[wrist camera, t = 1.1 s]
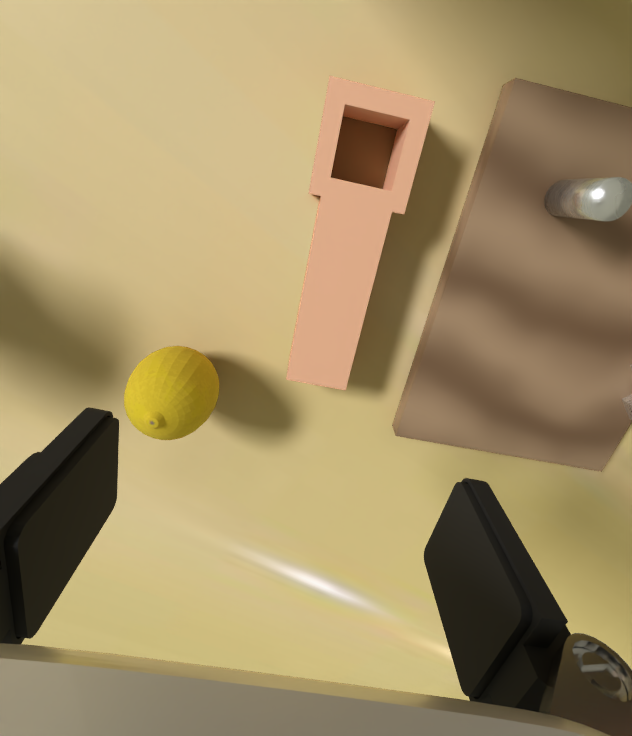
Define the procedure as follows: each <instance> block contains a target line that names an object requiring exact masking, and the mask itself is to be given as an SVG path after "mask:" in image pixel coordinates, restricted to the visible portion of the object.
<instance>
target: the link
mask: <svg viewBox="0 0 632 736" xmlns="http://www.w3.org/2000/svg"><path fill="white" fill-rule="evenodd" d="M434 103H435V101H431V100H427V99H423V98H419V97H415V96H410V95H406V94H402V93H398V92H394V91H390V90H386V89H382V88H378V87H374V86H370V85H366V84H362V83H358V82H354V81H350V80H345V79H341V78H337V77H333V76H330V77H329V82H328V88H327V94H326V99H325V105H324V110H323V116H322V122H321V127H320V133H319V138H318V144H317V149H316V155H315V161H314V166H313V172H312V177H311V183H310V189H309V194H314V195H318V196H320V201H319V206H318V211H317V216H316V222H315V227H314V232H313V237H312V243H311V248H310V253H309V258H308V264H307V269H306V274H305V279H304V285H303V290H302V295H301V300H300V306H299V311H298V316H297V321H296V327H295V332H294V337H293V343H292V348H291V353H290V358H289V365H288V371H287V378H286V380H292V381H297V382H303V383H308V384H314V385H319V386H325V387H330V388H336V389H341V390H346V387H347V383H348V379H349V375H350V371H351V367H352V364H353V360H354V356H355V352H356V348H357V344H358V340H359V337H360V333H361V329H362V325H363V321H364V317H365V314H366V310H367V306H368V302H369V298H370V294H371V291H372V287H373V283H374V279H375V275H376V271H377V268H378V264H379V260H380V256H381V252H382V248H383V245H384V241H385V237H386V233H387V229H388V225H389V222H390V218H391V214H392V212H395V213H400V214H404V213H405V210H406V206H407V202H408V199H409V195H410V191H411V188H412V184H413V180H414V177H415V173H416V169H417V166H418V162H419V158H420V155H421V151H422V147H423V144H424V140H425V136H426V133H427V129H428V125H429V122H430V118H431V114H432V111H433V107H434ZM343 116H344V117H348V118H352V119H356V120H361V121H365V122H369V123H373V124H377V125H382V126H386V127H390V128H394V129H397V132H396V136H395V140H394V144H393V148H392V152H391V156H390V160H389V164H388V168H387V173H386V177H385V181H384V185H383V189H380V188H375V187H371V186H366V185H362V184H357V183H353V182H348V181H344V180H340V179H335V178H331V173H332V167H333V162H334V157H335V152H336V147H337V142H338V137H339V132H340V127H341V122H342V117H343Z"/></svg>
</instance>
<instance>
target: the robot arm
mask: <svg viewBox="0 0 632 736" xmlns="http://www.w3.org/2000/svg"><path fill="white" fill-rule="evenodd" d="M118 441H119V420H118V419H117V418H113V414H112V412H110V411H104V410H99V409H94V408H86V409H85V410H84V411H83V412H82V413H81V414H79V415H78V416H77V417H76V418H75V419H74V420H73V421H72V422H71V423H70V424H69V425H68V426H67V427H66V428H65V429H64V430H63V431H62V432H61V433H60V434H59V435H58V436H57V437H56V438H55V439H54V440H53V441H52V442H51V443H50V444H49V445H48V446H47V447H46V448H45V449H44V450H43V451H42V452H37V453H34V454H32V455H31V456H30V457H28V458H27V459H26V460H25V461H24V462H23V463H22V464H21V465H20V466H19V467H18V468H17V469H16V470H15V471H14V472H13V473H12V474H11V475H10V476H8V477H7V478H6V479H5V480H4V481H3V482H2V483H1V484H0V736H632V670H631V669H630V667H629V666H628V664H627V663H626V662H625V661H624V660H623V659H622V658H621V657H620V656H619V655H618V654H617V653H616V652H615V651H613V650H612V649H611V648H610V647H608V646H607V645H606V644H604V643H603V642H601V641H599V640H598V639H596V638H594V637H591V636H589V635H586V634H580V633H574V634H572V635H571V634H570V632H569V630H568V629H567V627H566V623H567V622H568V621H567V619H566V617H565V616H564V614H563V612H562V611H561V609H560V607H559V605H558V604H557V602H556V600H555V598H554V597H553V595H552V593H551V592H550V590H549V588H548V586H547V585H546V583H545V581H544V579H543V578H542V576H541V574H540V573H539V571H538V569H537V567H536V566H535V564H534V562H533V560H532V559H531V557H530V555H529V553H528V552H527V550H526V548H525V547H524V545H523V543H522V541H521V540H520V538H519V536H518V534H517V533H516V531H515V529H514V528H513V526H512V524H511V522H510V521H509V519H508V517H507V515H506V514H505V512H504V510H503V509H502V507H501V505H500V503H499V502H498V500H497V498H496V496H495V495H494V493H493V491H492V490H491V488H490V486H489V485H488V483H487V482H484V481H479V480H474V479H468V478H465V479H463V480H462V482H457V483H456V484H455V486H454V488H453V490H452V492H451V495H450V497H449V499H448V501H447V503H446V505H445V507H444V509H443V511H442V514H441V516H440V518H439V520H438V522H437V524H436V526H435V528H434V531H433V533H432V535H431V537H430V539H429V541H428V543H427V545H426V548H425V551H424V562H425V565H426V569H427V572H428V576H429V579H430V583H431V586H432V590H433V593H434V596H435V600H436V603H437V607H438V610H439V614H440V617H441V620H442V624H443V627H444V631H445V634H446V638H447V641H448V645H449V648H450V651H451V655H452V658H453V662H454V665H455V669H456V672H457V676H458V679H459V682H460V686H461V689H462V691H463V693H464V694H465V695H466V696H469V699H470V701H467V700H461V699H454V698H446V697H439V696H432V695H424V694H417V693H410V692H402V691H395V690H388V689H380V688H373V687H366V686H359V685H351V684H343V683H336V682H328V681H321V680H313V679H305V678H298V677H290V676H283V675H275V674H267V673H259V672H252V671H244V670H236V669H229V668H221V667H213V666H205V665H197V664H189V663H181V662H173V661H165V660H157V659H149V658H141V657H133V656H125V655H117V654H109V653H100V652H90V651H81V650H71V649H62V648H53V647H43V646H34V645H22V644H21V643H22V641H23V640H24V638H32V637H33V636H34V635H35V634H36V633H37V631H38V630H39V628H40V627H41V625H42V623H43V622H44V620H45V618H46V617H47V615H48V614H49V612H50V610H51V609H52V607H53V606H54V604H55V602H56V601H57V599H58V598H59V596H60V594H61V593H62V591H63V589H64V588H65V586H66V585H67V583H68V581H69V580H70V578H71V577H72V575H73V573H74V572H75V570H76V568H77V567H78V565H79V564H80V562H81V560H82V559H83V557H84V556H85V554H86V552H87V551H88V549H89V548H90V546H91V544H92V543H93V541H94V539H95V538H96V536H97V535H98V533H99V531H100V530H101V528H102V527H103V525H104V523H105V522H106V520H107V518H108V517H109V515H110V514H111V512H112V510H113V508H114V506H115V503H116V499H117V476H118Z"/></svg>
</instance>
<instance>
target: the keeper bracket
mask: <svg viewBox="0 0 632 736" xmlns="http://www.w3.org/2000/svg"><path fill="white" fill-rule="evenodd" d="M630 366H631V369H632V364H631V365H630ZM622 401H623V404H624V406H625V409H626V411H627V414H628V416H629V419H630V420H632V394H631V395H629V396H627V397H625V398H623V399H622Z"/></svg>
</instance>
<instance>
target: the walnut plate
mask: <svg viewBox="0 0 632 736" xmlns="http://www.w3.org/2000/svg"><path fill="white" fill-rule="evenodd" d="M611 177H622V178H626V179H628V180H629V181H630V182H631V183H632V108H631V107H627V106H623V105H619V104H615V103H611V102H607V101H604V100H600V99H596V98H592V97H588V96H584V95H580V94H576V93H572V92H568V91H564V90H561V89H557V88H553V87H549V86H545V85H541V84H537V83H533V82H529V81H525V80H521V79H517V78H515V79H513V80H511V81H509V82H508V83H506V84H504V85H503V88H502V91H501V94H500V97H499V100H498V103H497V106H496V109H495V112H494V115H493V118H492V121H491V124H490V128H489V131H488V134H487V137H486V140H485V143H484V146H483V149H482V152H481V155H480V158H479V161H478V164H477V167H476V170H475V173H474V177H473V180H472V183H471V186H470V189H469V192H468V195H467V198H466V201H465V204H464V207H463V210H462V213H461V216H460V219H459V222H458V226H457V229H456V232H455V235H454V238H453V241H452V244H451V247H450V250H449V253H448V256H447V259H446V262H445V265H444V268H443V272H442V275H441V278H440V281H439V284H438V287H437V290H436V293H435V296H434V299H433V302H432V305H431V308H430V311H429V314H428V317H427V321H426V324H425V327H424V330H423V333H422V336H421V339H420V342H419V345H418V348H417V351H416V354H415V357H414V360H413V363H412V366H411V370H410V373H409V376H408V379H407V382H406V385H405V388H404V391H403V394H402V397H401V400H400V403H399V406H398V409H397V412H396V416H395V419H394V422H393V425H392V426H393V429H394V432H395V435H396V436H400V437H405V438H411V439H417V440H423V441H429V442H434V443H440V444H446V445H452V446H457V447H463V448H469V449H475V450H481V451H486V452H492V453H498V454H504V455H510V456H515V457H521V458H527V459H533V460H538V461H544V462H550V463H556V464H562V465H567V466H573V467H579V468H585V469H590V470H596V471H602V470H603V469H604V467H605V465H606V464H607V462H608V460H609V459H610V457H611V455H612V454H613V452H614V450H615V449H616V447H617V446H618V444H619V442H620V441H621V439H622V437H623V436H624V434H625V432H626V431H627V429H628V427H629V426H630V424H631V422H632V420H630V419H629V416H628V414H627V411H626V409H625V406H624V404H623V401H622V399H623V398H625V397H627V396H629V395H631V394H632V369H631V366H630V365H631V364H632V204H631V206H630V208H629V209H628V210H627V212H626V213H625V214H624V215H622V216H621V217H620V218H618V219H616V220H613V221H597V220H588V219H579V218H569V217H560V216H553V215H551V214H549V213H548V212H547V211H546V209H545V206H544V198H545V195H546V193H547V191H548V189H549V188H550V187H551V186H552V185H553V184H554V183H556V182H557V181H560V180H565V179H588V178H611Z"/></svg>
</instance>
